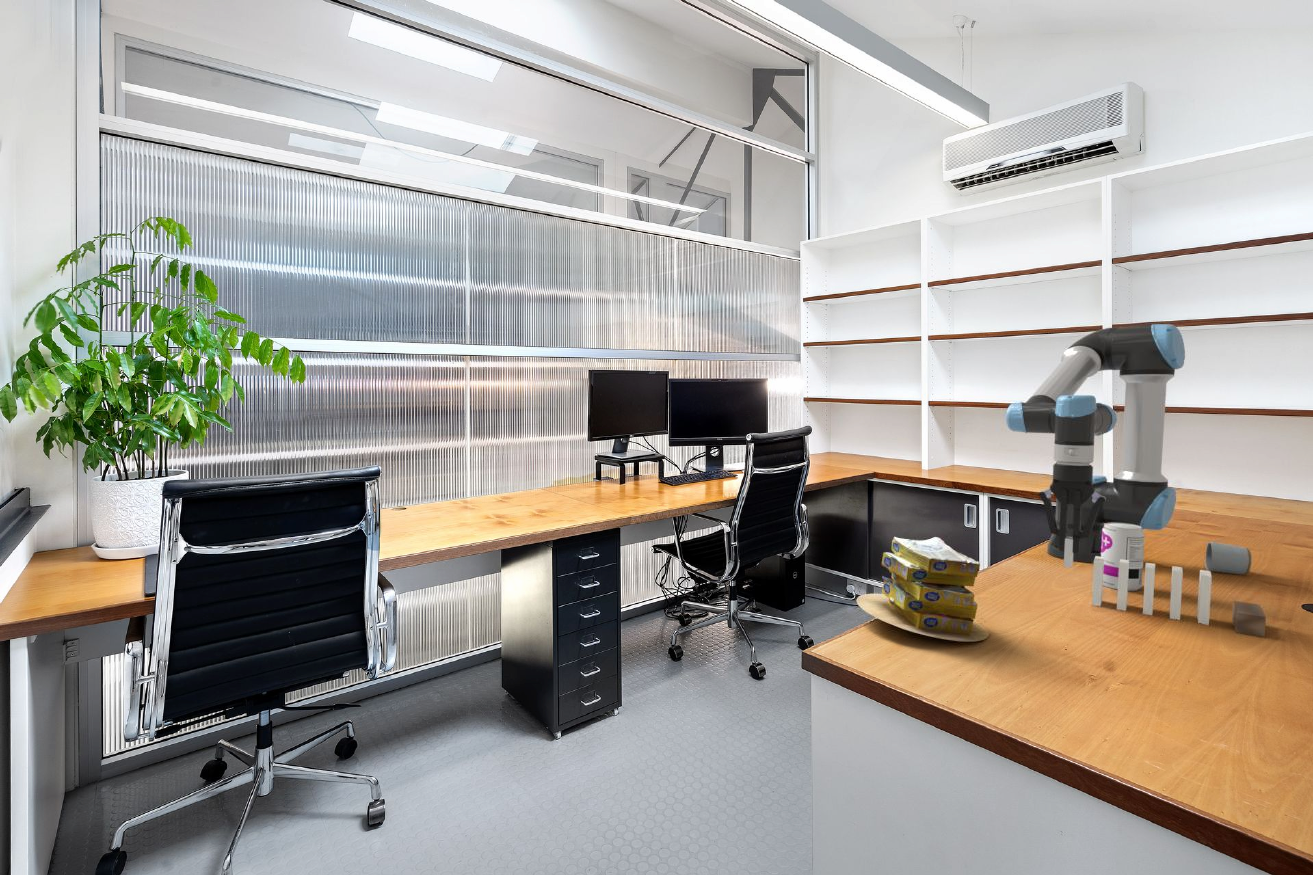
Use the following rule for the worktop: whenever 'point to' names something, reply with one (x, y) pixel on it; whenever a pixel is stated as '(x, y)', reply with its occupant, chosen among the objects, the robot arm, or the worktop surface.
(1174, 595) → the domino
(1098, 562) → the domino
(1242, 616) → the end block
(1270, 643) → the worktop surface
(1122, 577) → the domino
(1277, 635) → the worktop surface
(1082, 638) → the worktop surface
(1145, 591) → the domino
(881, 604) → the plate with stacked boxes
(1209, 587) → the domino
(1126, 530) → the supplement can
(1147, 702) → the worktop surface
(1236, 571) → the ceramic mug
